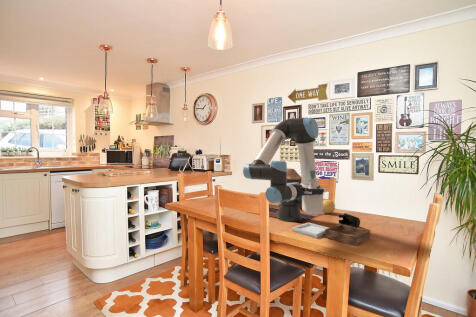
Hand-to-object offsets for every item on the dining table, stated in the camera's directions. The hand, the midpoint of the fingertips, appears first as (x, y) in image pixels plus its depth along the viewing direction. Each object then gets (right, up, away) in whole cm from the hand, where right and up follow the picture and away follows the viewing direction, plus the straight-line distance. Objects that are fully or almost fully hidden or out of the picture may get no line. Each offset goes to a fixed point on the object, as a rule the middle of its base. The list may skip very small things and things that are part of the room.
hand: (317, 188), depth 139 cm
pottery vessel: (-3, -22, +66) cm, 69 cm away
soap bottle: (-4, -13, -3) cm, 14 cm away
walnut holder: (+11, -23, -12) cm, 29 cm away
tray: (-4, -23, -2) cm, 23 cm away
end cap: (+21, -23, +8) cm, 32 cm away
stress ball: (+19, -22, +39) cm, 49 cm away
